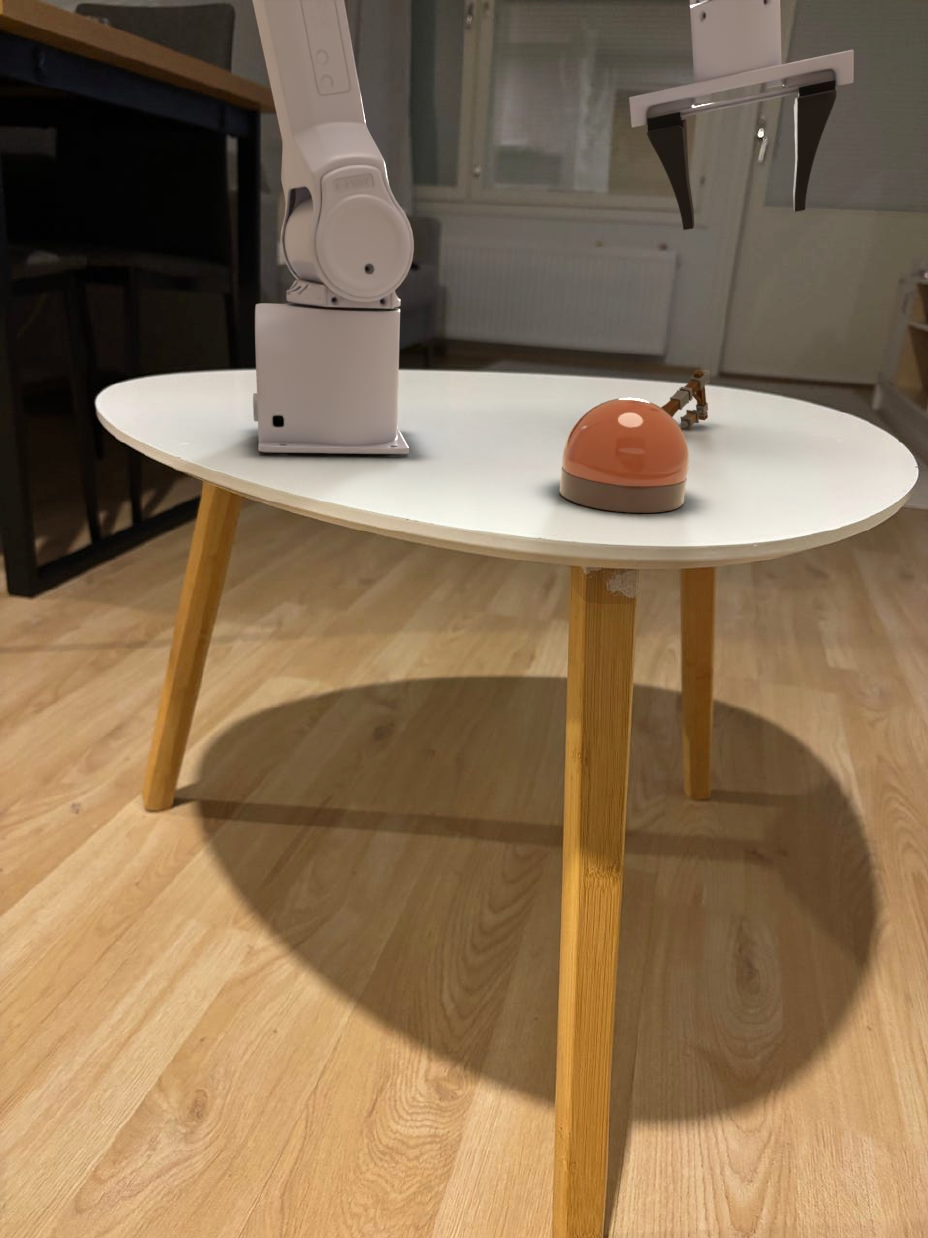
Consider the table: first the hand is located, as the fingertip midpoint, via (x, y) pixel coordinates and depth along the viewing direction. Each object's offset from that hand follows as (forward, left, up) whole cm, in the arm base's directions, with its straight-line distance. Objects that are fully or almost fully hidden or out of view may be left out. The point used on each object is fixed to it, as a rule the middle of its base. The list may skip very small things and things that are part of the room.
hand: (743, 218), depth 66 cm
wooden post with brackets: (-2, +2, -16) cm, 16 cm away
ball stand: (-14, -19, -17) cm, 30 cm away
